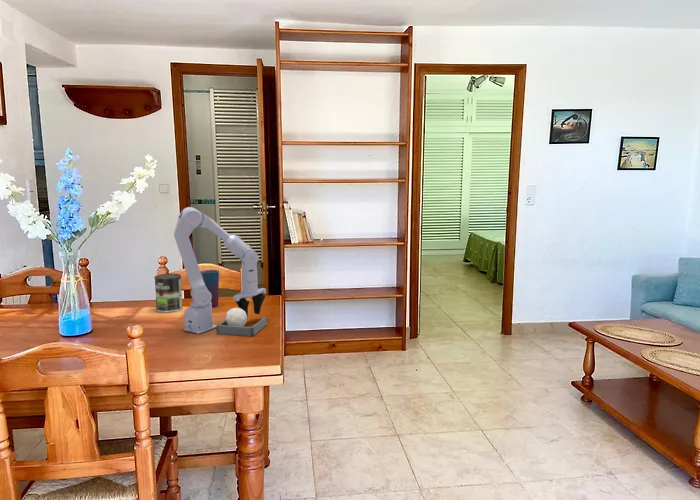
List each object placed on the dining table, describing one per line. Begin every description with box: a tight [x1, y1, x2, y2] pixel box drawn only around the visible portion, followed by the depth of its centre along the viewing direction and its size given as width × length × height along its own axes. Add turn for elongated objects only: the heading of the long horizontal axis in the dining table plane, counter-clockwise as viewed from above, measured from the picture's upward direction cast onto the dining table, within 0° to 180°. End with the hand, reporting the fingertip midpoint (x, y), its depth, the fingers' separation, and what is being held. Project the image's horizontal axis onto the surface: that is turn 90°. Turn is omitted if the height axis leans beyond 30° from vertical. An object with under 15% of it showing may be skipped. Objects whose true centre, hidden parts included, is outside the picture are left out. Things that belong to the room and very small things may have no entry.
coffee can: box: [154, 273, 183, 314], centre depth 207 cm, size 10×10×14 cm
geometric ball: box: [224, 307, 248, 327], centre depth 183 cm, size 8×8×8 cm
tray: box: [215, 316, 268, 337], centre depth 183 cm, size 14×14×3 cm
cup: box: [201, 269, 220, 308], centre depth 213 cm, size 7×7×15 cm
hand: (250, 315), depth 190 cm, fingers open, 6 cm apart
